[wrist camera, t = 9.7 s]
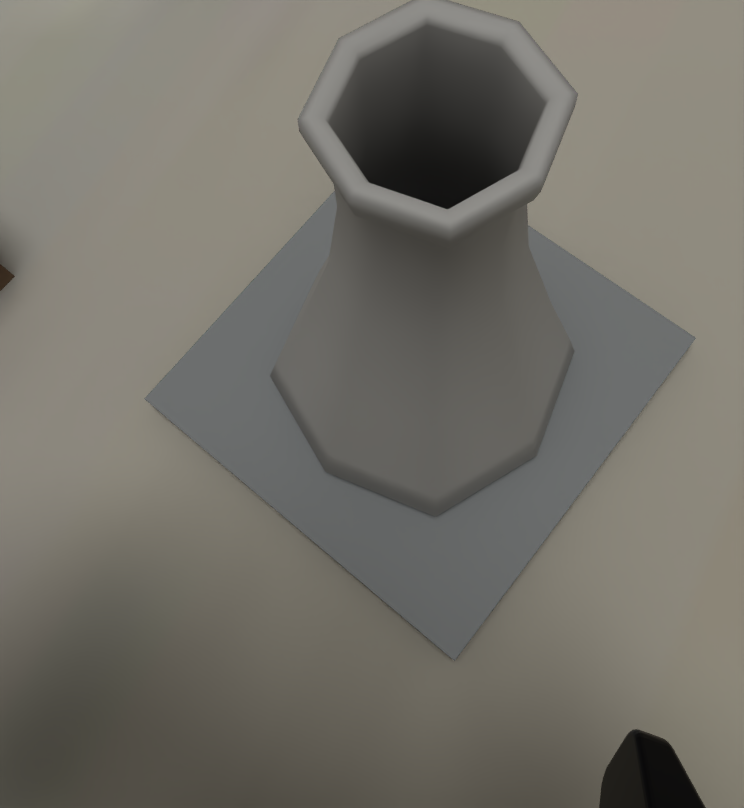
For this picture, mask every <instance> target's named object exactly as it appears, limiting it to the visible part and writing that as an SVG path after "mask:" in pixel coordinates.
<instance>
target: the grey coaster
mask: <svg viewBox="0 0 744 808" xmlns="http://www.w3.org/2000/svg"><path fill="white" fill-rule="evenodd" d="M336 210H337V203H336V196H335V191H334V192H333V193H332V194H331V195H330V196H329V197H328V199H327V200H326V201H325V202H324V203H323V204H322V205H321V206H320V207H319V208H318V210H317V211H316V212H315V213H314V214H313V215H312V216H311V217H310V218H309V219H308V220H307V222H306V223H305V224H304V225H303V226H302V227H301V228H300V229H299V230H298V231H297V232H296V234H295V235H294V236H293V237H292V238H291V239H290V240H289V241H288V242H287V243H286V244H285V246H284V247H283V248H282V249H281V250H280V251H279V252H278V253H277V254H276V255H275V257H274V258H273V259H272V260H271V261H270V262H269V263H268V264H267V265H266V266H265V267H264V269H263V270H262V271H261V272H260V273H259V274H258V275H257V276H256V277H255V278H254V279H253V281H252V282H251V283H250V284H249V285H248V286H247V287H246V288H245V289H244V290H243V292H242V293H241V294H240V295H239V296H238V297H237V298H236V299H235V300H234V301H233V302H232V304H231V305H230V306H229V307H228V308H227V309H226V310H225V311H224V312H223V313H222V314H221V316H220V317H219V318H218V319H217V320H216V321H215V322H214V323H213V324H212V325H211V326H210V328H209V329H208V330H207V331H206V332H205V333H204V334H203V335H202V336H201V337H200V339H199V340H198V341H197V342H196V343H195V344H194V345H193V346H192V347H191V348H190V349H189V351H188V352H187V353H186V354H185V355H184V356H183V357H182V358H181V359H180V360H179V361H178V363H177V364H176V365H175V366H174V367H173V368H172V369H171V370H170V371H169V372H168V374H167V375H166V376H165V377H164V378H163V379H162V380H161V381H160V382H159V383H158V384H157V386H156V387H155V388H154V389H153V390H152V391H151V392H150V393H149V394H148V395H147V396H146V398H145V400H146V401H148V402H149V403H150V404H151V405H152V406H153V407H155V408H156V409H157V410H158V411H159V412H161V413H162V414H163V415H164V416H165V417H167V418H168V419H169V420H170V421H171V422H172V423H174V424H175V425H176V426H177V427H178V428H180V429H181V430H182V431H183V432H184V433H185V434H187V435H188V436H189V437H190V438H191V439H193V440H194V441H195V442H196V443H197V444H198V445H200V446H201V447H202V448H203V449H204V450H206V451H207V452H208V453H209V454H210V455H211V456H213V457H214V458H215V459H216V460H217V461H219V462H220V463H221V464H222V465H223V466H224V467H226V468H227V469H228V470H229V471H230V472H232V473H233V474H234V475H235V476H236V477H237V478H239V479H240V480H241V481H242V482H243V483H245V484H246V485H247V486H248V487H249V488H251V489H252V490H253V491H254V492H255V493H256V494H258V495H259V496H260V497H261V498H262V499H264V500H265V501H266V502H267V503H268V504H269V505H271V506H272V507H273V508H274V509H275V510H277V511H278V512H279V513H280V514H281V515H282V516H284V517H285V518H286V519H287V520H288V521H290V522H291V523H292V524H293V525H294V526H295V527H297V528H298V529H299V530H300V531H301V532H303V533H304V534H305V535H306V536H307V537H308V538H310V539H311V540H312V541H313V542H314V543H316V544H317V545H318V546H319V547H320V548H321V549H323V550H324V551H325V552H326V553H327V554H329V555H330V556H331V557H332V558H333V559H335V560H336V561H337V562H338V563H339V564H340V565H342V566H343V567H344V568H345V569H346V570H348V571H349V572H350V573H351V574H352V575H353V576H355V577H356V578H357V579H358V580H359V581H361V582H362V583H363V584H364V585H365V586H366V587H368V588H369V589H370V590H371V591H372V592H374V593H375V594H376V595H377V596H378V597H379V598H381V599H382V600H383V601H384V602H385V603H387V604H388V605H389V606H390V607H391V608H392V609H394V610H395V611H396V612H397V613H398V614H400V615H401V616H402V617H403V618H404V619H406V620H407V621H408V622H409V623H410V624H411V625H413V626H414V627H415V628H416V629H417V630H419V631H420V632H421V633H422V634H423V635H424V636H426V637H427V638H428V639H429V640H430V641H432V642H433V643H434V644H435V645H436V646H437V647H439V648H440V649H441V650H442V651H443V652H445V653H446V654H447V655H448V656H449V657H450V658H452V659H453V660H454V661H455V660H456V658H457V657H458V656H459V654H460V653H461V652H462V650H463V649H464V648H465V646H466V645H467V644H468V642H469V641H470V640H471V638H472V637H473V636H474V634H475V633H476V632H477V630H478V629H479V628H480V626H481V625H482V624H483V622H484V621H485V620H486V618H487V617H488V616H489V614H490V613H491V612H492V610H493V609H494V607H495V606H496V605H497V603H498V602H499V601H500V599H501V598H502V597H503V595H504V594H505V593H506V591H507V590H508V589H509V587H510V586H511V585H512V583H513V582H514V581H515V579H516V578H517V577H518V575H519V574H520V573H521V571H522V570H523V569H524V567H525V566H526V565H527V563H528V562H529V561H530V559H531V558H532V557H533V555H534V554H535V553H536V551H537V550H538V549H539V547H540V546H541V545H542V543H543V542H544V541H545V539H546V538H547V537H548V535H549V534H550V533H551V531H552V530H553V529H554V527H555V526H556V525H557V523H558V522H559V521H560V519H561V518H562V516H563V515H564V514H565V512H566V511H567V510H568V508H569V507H570V506H571V504H572V503H573V502H574V500H575V499H576V498H577V496H578V495H579V494H580V492H581V491H582V490H583V488H584V487H585V486H586V484H587V483H588V482H589V480H590V479H591V478H592V476H593V475H594V474H595V472H596V471H597V470H598V468H599V467H600V466H601V464H602V463H603V462H604V460H605V459H606V458H607V456H608V455H609V454H610V452H611V451H612V450H613V448H614V447H615V446H616V444H617V443H618V442H619V440H620V439H621V438H622V436H623V435H624V434H625V432H626V431H627V430H628V428H629V427H630V426H631V424H632V423H633V421H634V420H635V419H636V417H637V416H638V415H639V413H640V412H641V411H642V409H643V408H644V407H645V405H646V404H647V403H648V401H649V400H650V399H651V397H652V396H653V395H654V393H655V392H656V391H657V389H658V388H659V387H660V385H661V384H662V383H663V381H664V380H665V379H666V377H667V376H668V375H669V373H670V372H671V371H672V369H673V368H674V367H675V365H676V364H677V363H678V361H679V360H680V359H681V357H682V356H683V355H684V353H685V352H686V351H687V349H688V348H689V347H690V345H691V344H692V343H693V341H694V340H695V339H696V338H695V337H694V336H692V335H691V334H689V333H688V332H686V331H685V330H683V329H682V328H680V327H679V326H677V325H676V324H674V323H673V322H671V321H670V320H668V319H667V318H665V317H664V316H662V315H661V314H660V313H658V312H657V311H655V310H654V309H652V308H651V307H649V306H648V305H646V304H645V303H643V302H642V301H640V300H639V299H637V298H636V297H634V296H633V295H631V294H630V293H628V292H627V291H625V290H624V289H622V288H621V287H619V286H618V285H616V284H615V283H613V282H612V281H610V280H609V279H607V278H606V277H604V276H603V275H601V274H600V273H598V272H597V271H595V270H594V269H593V268H591V267H590V266H588V265H587V264H585V263H584V262H582V261H581V260H579V259H578V258H576V257H575V256H573V255H572V254H570V253H569V252H567V251H566V250H564V249H563V248H561V247H560V246H558V245H557V244H555V243H554V242H552V241H551V240H549V239H548V238H546V237H545V236H543V235H542V234H540V233H539V232H537V231H536V230H534V229H533V228H531V227H530V226H528V241H529V248H530V251H531V253H532V256H533V259H534V261H535V264H536V266H537V269H538V271H539V274H540V276H541V279H542V281H543V284H544V286H545V289H546V291H547V294H548V296H549V299H550V301H551V304H552V306H553V308H554V310H555V311H556V313H557V315H558V317H559V319H560V321H561V323H562V325H563V327H564V329H565V331H566V333H567V335H568V337H569V339H570V341H571V344H572V346H573V349H574V354H573V357H572V360H571V362H570V365H569V368H568V371H567V373H566V376H565V379H564V382H563V384H562V387H561V390H560V393H559V395H558V398H557V401H556V404H555V406H554V409H553V412H552V415H551V417H550V420H549V423H548V426H547V428H546V431H545V434H544V437H543V439H542V442H541V445H540V448H539V450H538V453H537V456H535V457H533V458H532V459H530V460H528V461H527V462H525V463H523V464H522V465H520V466H518V467H517V468H515V469H514V470H512V471H510V472H509V473H507V474H505V475H504V476H502V477H500V478H499V479H497V480H495V481H494V482H492V483H490V484H489V485H487V486H485V487H484V488H482V489H480V490H479V491H477V492H475V493H474V494H472V495H471V496H469V497H467V498H466V499H464V500H462V501H461V502H459V503H457V504H456V505H454V506H452V507H451V508H449V509H447V510H446V511H444V512H442V513H441V514H439V515H437V516H436V517H435V516H432V515H430V514H428V513H425V512H423V511H420V510H418V509H415V508H413V507H410V506H408V505H406V504H403V503H401V502H398V501H396V500H393V499H391V498H388V497H386V496H384V495H381V494H379V493H376V492H374V491H371V490H369V489H366V488H364V487H361V486H359V485H357V484H354V483H352V482H349V481H347V480H344V479H342V478H339V477H337V476H335V475H332V474H330V473H327V472H325V470H324V469H323V467H322V465H321V463H320V462H319V460H318V458H317V456H316V455H315V453H314V451H313V450H312V448H311V446H310V444H309V443H308V441H307V439H306V437H305V436H304V434H303V432H302V431H301V429H300V427H299V425H298V424H297V422H296V420H295V418H294V417H293V415H292V413H291V412H290V410H289V408H288V406H287V405H286V403H285V401H284V399H283V398H282V396H281V394H280V393H279V391H278V389H277V387H276V386H275V384H274V382H273V380H272V379H271V377H270V374H271V372H272V370H273V368H274V366H275V364H276V362H277V359H278V357H279V355H280V353H281V351H282V349H283V347H284V345H285V342H286V340H287V338H288V336H289V334H290V332H291V330H292V328H293V326H294V323H295V321H296V319H297V317H298V315H299V313H300V311H301V309H302V306H303V304H304V302H305V300H306V298H307V296H308V294H309V292H310V289H311V287H312V285H313V283H314V281H315V279H316V277H317V275H318V273H319V271H320V269H321V267H322V266H323V264H324V263H325V261H326V260H327V258H328V256H329V254H330V248H331V242H332V235H333V229H334V223H335V217H336Z"/></svg>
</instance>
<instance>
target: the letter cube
mask: <svg viewBox="0 0 744 808" xmlns="http://www.w3.org/2000/svg"><path fill="white" fill-rule="evenodd" d="M14 277H15V276H14V275H13V274H11V273H10V272H9V271H8V270H7V269H5V268H4V267H3V266H2V265H1V264H0V291H1V290H2V289H3V288H4V287H5V286H6V285H7V284H8V283H9V282H10V281H11V280H12V279H13V278H14Z"/></svg>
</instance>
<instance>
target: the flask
mask: <svg viewBox="0 0 744 808" xmlns="http://www.w3.org/2000/svg"><path fill="white" fill-rule="evenodd" d="M577 96H578V93H577V92H576V91H575V90H574V88H573V87H572V86H571V85H570V84H569V82H568V81H567V80H566V79H565V77H564V76H563V75H562V74H561V72H560V71H559V70H558V69H557V68H556V66H555V65H554V64H553V63H552V61H551V60H550V59H549V58H548V56H547V55H546V54H545V53H544V51H543V50H542V49H541V48H540V47H539V45H538V44H537V43H536V42H535V40H534V39H533V38H532V37H531V35H530V34H529V33H528V32H527V31H526V29H525V28H524V27H523V26H522V24H521V23H520V22H519V21H516V20H512V19H509V18H506V17H502V16H499V15H495V14H492V13H489V12H485V11H482V10H479V9H475V8H472V7H468V6H465V5H462V4H458V3H455V2H452V1H448V0H411V1H409V2H407V3H406V4H404V5H402V6H400V7H398V8H396V9H394V10H392V11H390V12H388V13H386V14H384V15H383V16H381V17H379V18H377V19H375V20H373V21H371V22H369V23H367V24H365V25H363V26H361V27H359V28H358V29H356V30H354V31H352V32H350V33H348V34H346V35H344V36H342V37H340V38H339V39H338V41H337V43H336V45H335V47H334V49H333V51H332V53H331V55H330V56H329V58H328V60H327V62H326V64H325V66H324V68H323V70H322V72H321V74H320V76H319V78H318V80H317V82H316V84H315V86H314V88H313V90H312V92H311V94H310V96H309V98H308V100H307V102H306V104H305V106H304V108H303V110H302V112H301V114H300V116H299V118H298V126H299V131H300V133H301V135H302V136H303V138H304V139H305V141H306V143H307V144H308V146H309V147H310V149H311V150H312V152H313V153H314V155H315V156H316V158H317V159H318V161H319V162H320V164H321V165H322V167H323V168H324V170H325V171H326V173H327V174H328V176H329V177H330V179H331V180H332V182H333V183H334V189H335V196H336V203H337V210H336V217H335V223H334V229H333V235H332V242H331V248H330V254H329V256H328V258H327V260H326V261H325V263H324V264H323V266H322V267H321V269H320V271H319V273H318V275H317V277H316V279H315V281H314V283H313V285H312V287H311V289H310V292H309V294H308V296H307V298H306V300H305V302H304V304H303V306H302V309H301V311H300V313H299V315H298V317H297V319H296V321H295V323H294V326H293V328H292V330H291V332H290V334H289V336H288V338H287V340H286V342H285V345H284V347H283V349H282V351H281V353H280V355H279V357H278V359H277V362H276V364H275V366H274V368H273V370H272V372H271V374H270V377H271V379H272V380H273V382H274V384H275V386H276V387H277V389H278V391H279V393H280V394H281V396H282V398H283V399H284V401H285V403H286V405H287V406H288V408H289V410H290V412H291V413H292V415H293V417H294V418H295V420H296V422H297V424H298V425H299V427H300V429H301V431H302V432H303V434H304V436H305V437H306V439H307V441H308V443H309V444H310V446H311V448H312V450H313V451H314V453H315V455H316V456H317V458H318V460H319V462H320V463H321V465H322V467H323V469H324V470H325V472H327V473H330V474H332V475H335V476H337V477H339V478H342V479H344V480H347V481H349V482H352V483H354V484H357V485H359V486H361V487H364V488H366V489H369V490H371V491H374V492H376V493H379V494H381V495H384V496H386V497H388V498H391V499H393V500H396V501H398V502H401V503H403V504H406V505H408V506H410V507H413V508H415V509H418V510H420V511H423V512H425V513H428V514H430V515H432V516H435V517H436V516H437V515H439V514H441V513H442V512H444V511H446V510H447V509H449V508H451V507H452V506H454V505H456V504H457V503H459V502H461V501H462V500H464V499H466V498H467V497H469V496H471V495H472V494H474V493H475V492H477V491H479V490H480V489H482V488H484V487H485V486H487V485H489V484H490V483H492V482H494V481H495V480H497V479H499V478H500V477H502V476H504V475H505V474H507V473H509V472H510V471H512V470H514V469H515V468H517V467H518V466H520V465H522V464H523V463H525V462H527V461H528V460H530V459H532V458H533V457H535V456H537V453H538V450H539V448H540V445H541V442H542V439H543V437H544V434H545V431H546V428H547V426H548V423H549V420H550V417H551V415H552V412H553V409H554V406H555V404H556V401H557V398H558V395H559V393H560V390H561V387H562V384H563V382H564V379H565V376H566V373H567V371H568V368H569V365H570V362H571V360H572V357H573V354H574V349H573V346H572V344H571V341H570V339H569V337H568V335H567V333H566V331H565V329H564V327H563V325H562V323H561V321H560V319H559V317H558V315H557V313H556V311H555V310H554V308H553V306H552V304H551V301H550V299H549V296H548V294H547V291H546V289H545V286H544V284H543V281H542V279H541V276H540V274H539V271H538V269H537V266H536V264H535V261H534V259H533V256H532V253H531V251H530V248H529V241H528V216H527V204H528V203H529V202H531V201H533V200H534V199H535V198H536V197H537V196H538V194H539V193H540V192H541V190H542V187H543V185H544V182H545V180H546V177H547V175H548V172H549V170H550V167H551V165H552V162H553V160H554V157H555V155H556V152H557V150H558V147H559V145H560V142H561V140H562V137H563V135H564V132H565V130H566V127H567V125H568V122H569V120H570V117H571V115H572V112H573V110H574V107H575V104H576V100H577Z"/></svg>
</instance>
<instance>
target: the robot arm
mask: <svg viewBox="0 0 744 808" xmlns="http://www.w3.org/2000/svg"><path fill="white" fill-rule="evenodd" d="M599 808H705V806H704V804H703V802H702V800H701V799H700V797H699V795H698V793H697V791H696V789H695V788H694V786H693V784H692V782H691V780H690V779H689V777H688V775H687V773H686V771H685V769H684V768H683V766H682V764H681V762H680V760H679V758H678V757H677V755H676V753H675V751H674V749H673V748H672V746H671V745H670V744H669V743H668V742H667V741H666V740H665V739H663V738H660V737H658V736H655V735H652V734H649V733H647V732H644V731H641V730H637V729H635V730H632V731H630V732H629V733H628V735H627V736H626V737H625V739H624V741H623V742H622V744H621V745H620V747H619V749H618V750H617V752H616V753H615V755H614V757H613V758H612V760H611V761H610V763H609V765H608V766H607V768H606V771H605V773H604V777H603V781H602V787H601V796H600V805H599Z"/></svg>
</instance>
